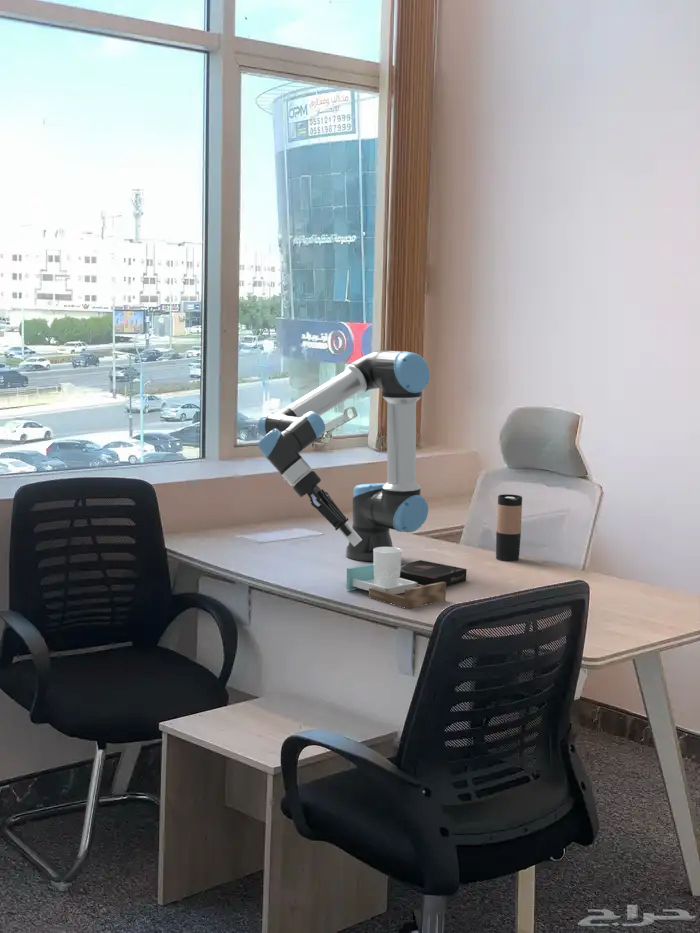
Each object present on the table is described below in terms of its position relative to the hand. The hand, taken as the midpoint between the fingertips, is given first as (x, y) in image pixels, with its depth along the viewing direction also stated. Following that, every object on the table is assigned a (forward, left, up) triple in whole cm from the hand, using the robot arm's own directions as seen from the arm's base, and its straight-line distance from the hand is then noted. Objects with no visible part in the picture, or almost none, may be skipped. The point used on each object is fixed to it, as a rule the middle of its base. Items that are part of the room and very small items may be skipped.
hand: (358, 543), depth 320 cm
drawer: (-5, +15, -13) cm, 21 cm away
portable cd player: (-24, +3, -14) cm, 28 cm away
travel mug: (-66, -2, -14) cm, 67 cm away
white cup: (-5, +7, -11) cm, 14 cm away
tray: (-5, +6, -13) cm, 15 cm away
